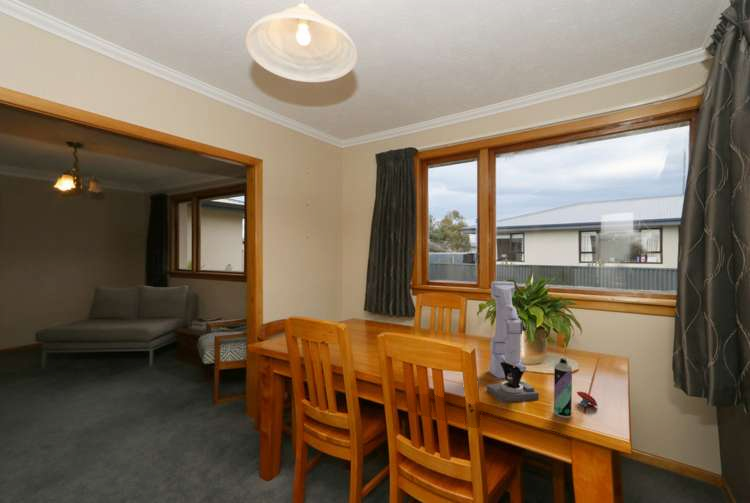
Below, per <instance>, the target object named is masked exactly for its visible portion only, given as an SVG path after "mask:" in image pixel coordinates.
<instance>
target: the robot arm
mask: <svg viewBox="0 0 750 503" xmlns="http://www.w3.org/2000/svg"><path fill="white" fill-rule="evenodd" d="M515 292H516V287H515V283H514V281H496V280H495V281H494V280H492V282H491V283H490V296H491V299H493V300H495V301H494V302H495V319H496V320H495V321H496V328H495V329H496V333H495V335H493V336H492V337H491V338H490V343H489V344H490V345H489V346H490V347H489V350H490V351H489V352H490V357H489V369H488V370H487V372H489V374H491V375H492V376H494V377H496V378H497V379H505V381H507V372H510V371H511V373H512V380H513V385H514V386H519V383H520V380H522V376H523V375H524V374H525V372H527V366H526V365H525V364H524V363H523V359H521V337H522V336H521V335H523V330H524V327H523V322H522V320H521V318H520V317H519V316H518V312H517V311H518V310H517V308H516V307H515V306H513V299H512V298H513V297H514V295H515Z"/></svg>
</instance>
